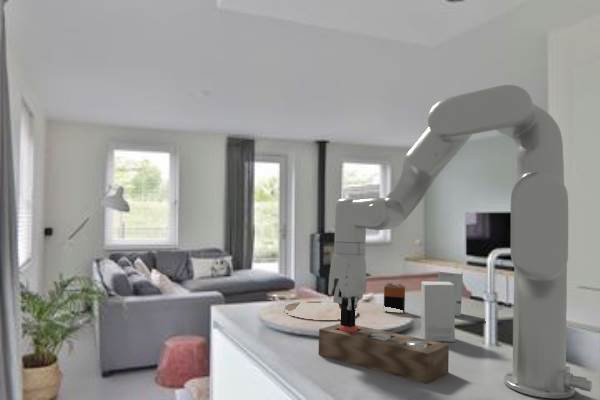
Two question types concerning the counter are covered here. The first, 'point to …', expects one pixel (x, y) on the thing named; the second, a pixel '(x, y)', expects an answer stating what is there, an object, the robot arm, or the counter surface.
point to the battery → (394, 296)
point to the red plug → (348, 328)
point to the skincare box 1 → (438, 311)
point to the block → (386, 353)
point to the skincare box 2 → (457, 280)
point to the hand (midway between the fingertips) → (347, 325)
